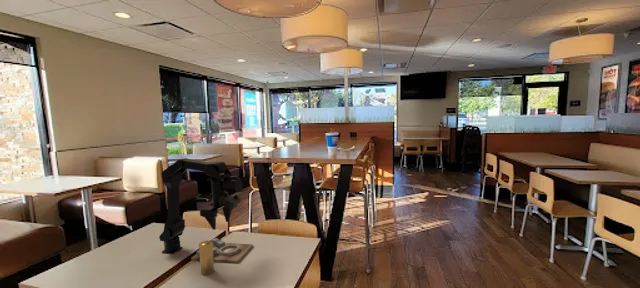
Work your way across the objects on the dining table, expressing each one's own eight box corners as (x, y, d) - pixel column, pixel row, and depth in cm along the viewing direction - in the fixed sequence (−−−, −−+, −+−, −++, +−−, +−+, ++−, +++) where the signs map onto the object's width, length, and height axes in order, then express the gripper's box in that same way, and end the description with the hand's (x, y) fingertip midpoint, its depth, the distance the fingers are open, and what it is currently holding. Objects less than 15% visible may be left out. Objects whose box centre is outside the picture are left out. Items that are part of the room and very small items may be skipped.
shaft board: (191, 260, 123) (190, 252, 122) (211, 244, 138) (210, 237, 138) (238, 263, 119) (237, 255, 119) (253, 246, 135) (252, 239, 134)
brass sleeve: (198, 274, 111) (196, 245, 110) (206, 267, 116) (204, 239, 115) (208, 276, 109) (206, 246, 108) (216, 269, 114) (215, 241, 113)
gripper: (220, 197, 111) (223, 235, 112) (246, 186, 128) (248, 219, 130) (197, 196, 114) (200, 233, 115) (226, 185, 132) (228, 217, 133)
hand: (221, 225), depth 123 cm, fingers open, 9 cm apart
